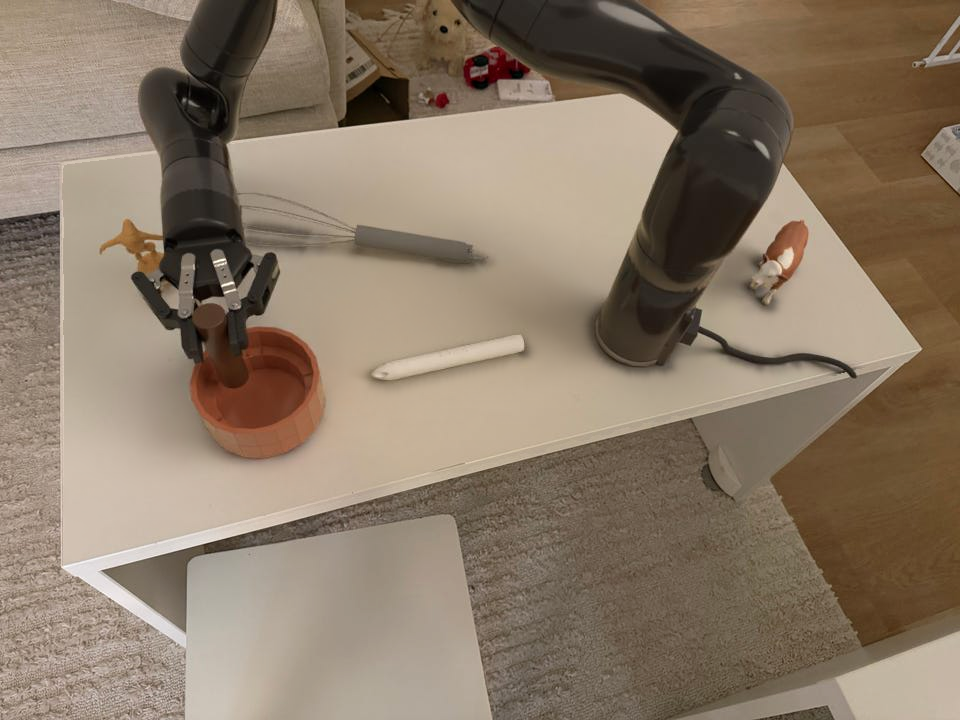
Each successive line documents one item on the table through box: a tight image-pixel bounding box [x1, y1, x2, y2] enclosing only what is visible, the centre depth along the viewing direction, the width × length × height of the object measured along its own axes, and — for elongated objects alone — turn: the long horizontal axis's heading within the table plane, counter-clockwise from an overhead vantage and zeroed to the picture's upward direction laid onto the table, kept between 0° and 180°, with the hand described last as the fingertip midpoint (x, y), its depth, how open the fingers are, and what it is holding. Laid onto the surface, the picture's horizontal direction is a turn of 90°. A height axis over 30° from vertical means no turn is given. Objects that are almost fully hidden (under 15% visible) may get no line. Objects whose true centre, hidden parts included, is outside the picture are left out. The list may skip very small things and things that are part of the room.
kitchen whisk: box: [238, 192, 489, 264], centre depth 82 cm, size 6×34×6 cm, turn 86°
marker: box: [370, 334, 525, 381], centre depth 76 cm, size 18×2×2 cm, turn 108°
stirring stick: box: [192, 302, 249, 389], centre depth 64 cm, size 3×3×11 cm
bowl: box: [189, 325, 326, 459], centre depth 69 cm, size 12×12×6 cm
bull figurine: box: [748, 219, 809, 306], centre depth 85 cm, size 4×13×8 cm, turn 143°
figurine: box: [98, 218, 170, 286], centre depth 74 cm, size 8×6×12 cm
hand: (217, 354), depth 59 cm, fingers closed on stirring stick, 2 cm apart
